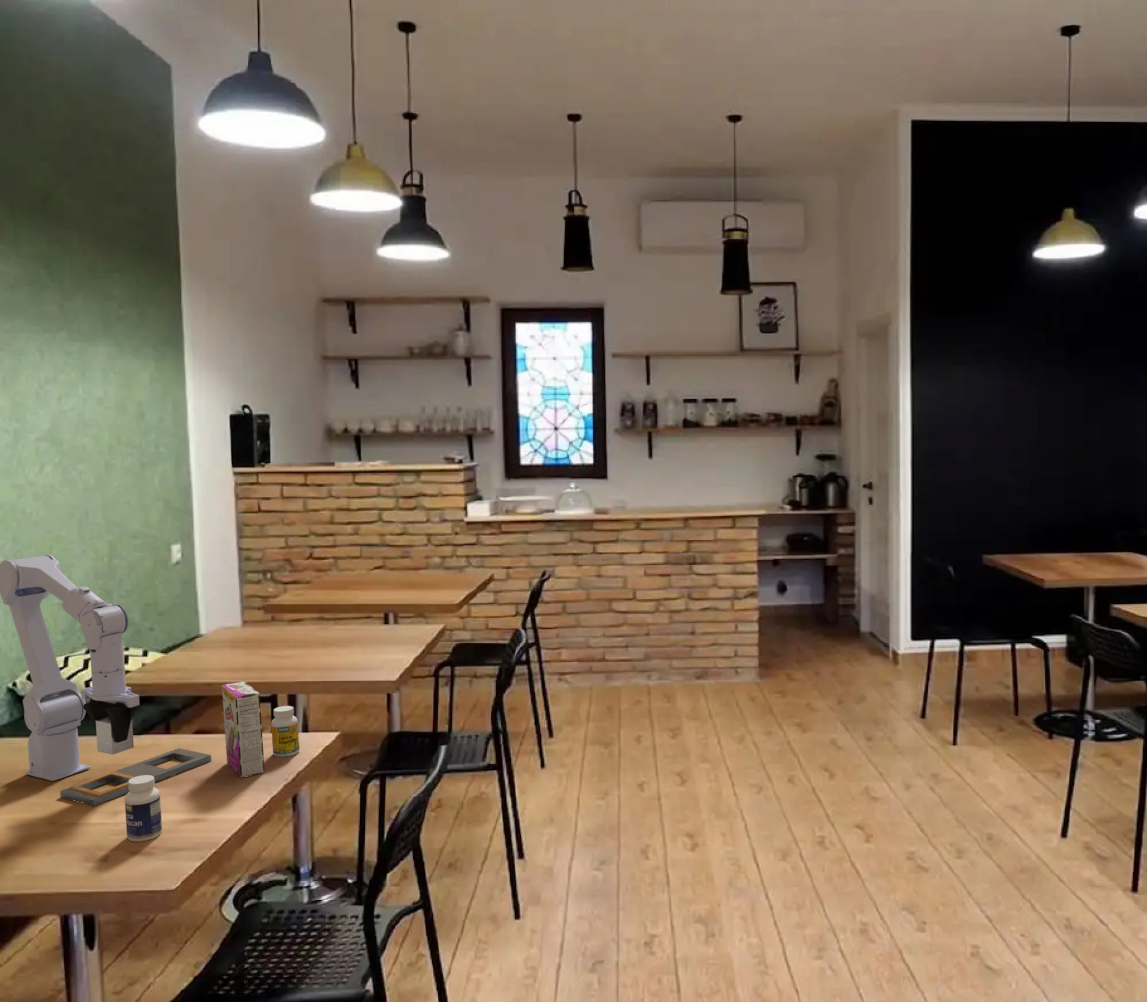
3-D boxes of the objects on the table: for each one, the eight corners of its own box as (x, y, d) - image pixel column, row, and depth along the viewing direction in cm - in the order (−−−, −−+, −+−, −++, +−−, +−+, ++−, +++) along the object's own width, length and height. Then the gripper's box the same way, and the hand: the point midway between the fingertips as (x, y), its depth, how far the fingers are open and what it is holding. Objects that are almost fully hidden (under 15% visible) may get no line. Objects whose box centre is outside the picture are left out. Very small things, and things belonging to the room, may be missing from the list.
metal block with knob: (97, 751, 179) (95, 719, 179) (118, 744, 183) (117, 712, 183) (112, 754, 177) (110, 721, 177) (133, 747, 181) (132, 715, 181)
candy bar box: (225, 763, 192) (220, 684, 191) (250, 757, 195) (245, 680, 193) (239, 779, 183) (235, 696, 181) (265, 773, 185) (261, 691, 184)
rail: (60, 797, 176) (60, 789, 176) (179, 753, 198) (178, 746, 198) (93, 806, 171) (92, 798, 171) (211, 760, 193) (210, 753, 193)
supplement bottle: (295, 747, 200) (292, 703, 200) (302, 753, 196) (300, 709, 195) (269, 752, 197) (267, 707, 197) (277, 759, 193) (274, 713, 192)
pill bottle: (119, 841, 155) (116, 784, 155) (140, 828, 161) (136, 772, 160) (149, 843, 154) (145, 785, 154) (168, 829, 160) (165, 773, 159)
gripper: (151, 668, 179) (156, 737, 180) (103, 661, 186) (107, 728, 187) (118, 677, 172) (122, 749, 173) (69, 669, 179) (74, 738, 180)
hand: (112, 739), depth 180 cm, fingers closed on metal block with knob, 4 cm apart
